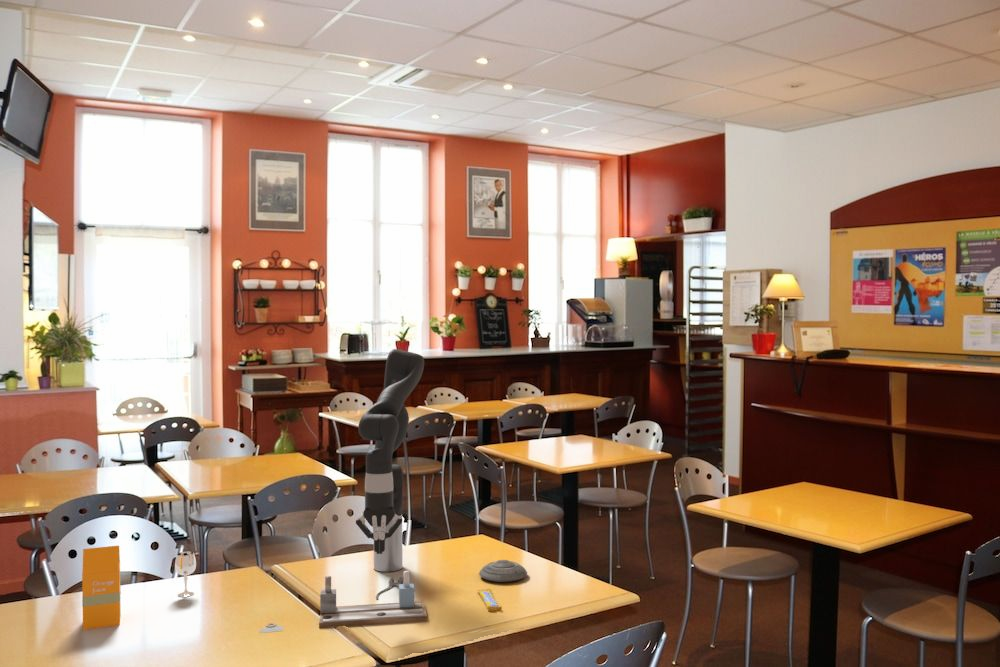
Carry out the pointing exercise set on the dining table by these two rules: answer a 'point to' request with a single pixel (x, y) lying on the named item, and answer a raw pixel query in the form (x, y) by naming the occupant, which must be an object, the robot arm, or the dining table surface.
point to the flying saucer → (503, 571)
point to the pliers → (391, 586)
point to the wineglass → (185, 568)
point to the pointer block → (406, 592)
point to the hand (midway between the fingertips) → (379, 553)
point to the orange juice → (101, 587)
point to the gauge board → (365, 611)
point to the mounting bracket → (271, 628)
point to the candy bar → (489, 600)
